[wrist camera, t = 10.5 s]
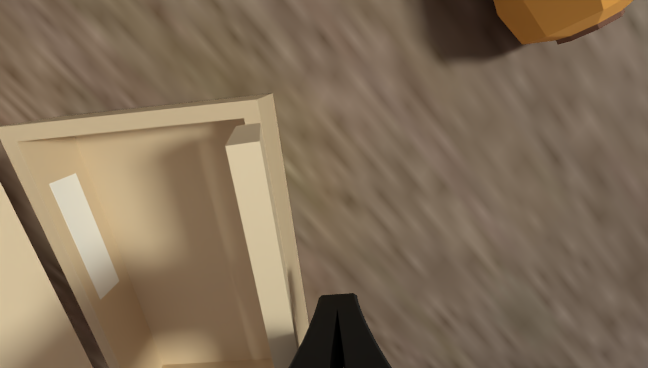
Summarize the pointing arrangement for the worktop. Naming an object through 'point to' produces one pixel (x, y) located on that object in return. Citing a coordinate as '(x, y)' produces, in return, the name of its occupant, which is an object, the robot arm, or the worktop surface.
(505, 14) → the carrot
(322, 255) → the worktop surface
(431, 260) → the worktop surface
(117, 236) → the carton
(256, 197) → the flap
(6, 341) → the flap
